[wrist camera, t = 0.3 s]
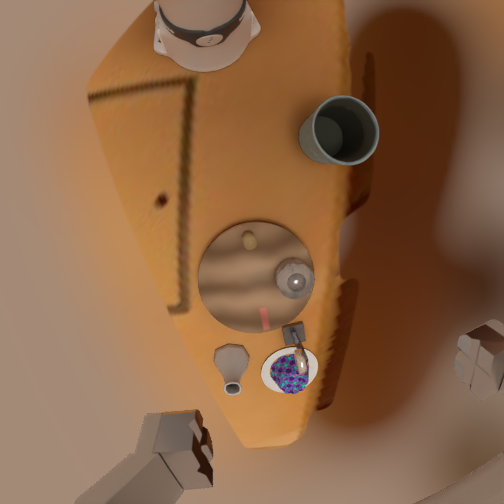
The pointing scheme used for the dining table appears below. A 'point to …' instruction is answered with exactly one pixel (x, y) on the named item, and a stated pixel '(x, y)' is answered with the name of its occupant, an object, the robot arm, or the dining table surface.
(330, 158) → the grey green cup
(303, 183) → the dining table surface
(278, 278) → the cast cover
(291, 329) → the grey knobbed rod
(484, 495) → the robot arm
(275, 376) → the pudding
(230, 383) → the flask
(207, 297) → the turntable
